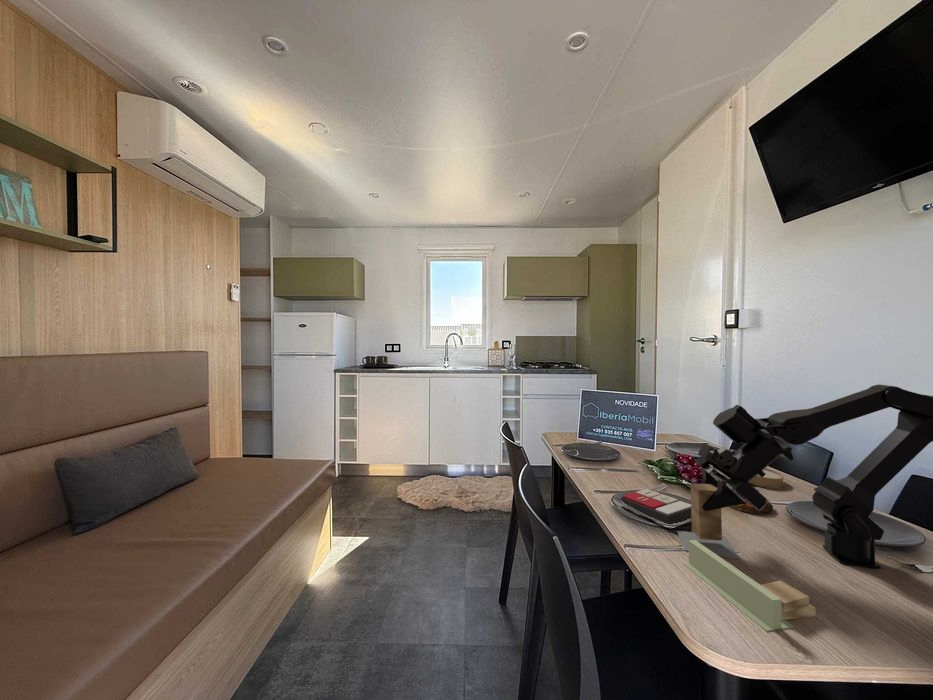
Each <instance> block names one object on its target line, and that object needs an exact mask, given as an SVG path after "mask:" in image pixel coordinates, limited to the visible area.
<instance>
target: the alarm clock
mask: <svg viewBox="0 0 933 700" xmlns="http://www.w3.org/2000/svg"><path fill="white" fill-rule="evenodd" d="M763 472H764V473H765V474H766V475H765V476H763V477H761V476H759V475H757V476H756V477H755V478H754V479H752V480H751V481H750V482H749V483H750V484H751V485H754V486H757V487H763V488H767V489H780V488H782V487H784V486H787V484H786V483H784V475H783V474H781V473H780V472H778V471H775V470H772V469H769V468H767V467H766V468H765V469H764V470H763Z"/></svg>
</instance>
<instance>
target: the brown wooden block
mask: <svg viewBox="0 0 933 700" xmlns="http://www.w3.org/2000/svg"><path fill="white" fill-rule="evenodd" d="M716 490H717V488H716V487H715V486H714V485H712V484H701V483H690V504H691V520H692V522H691V532H693V533H695V534H696V536H697V537H698V538H699V539H704V540H722V536H723V532H722V531H723V530H722V529H723V527H722V508H719V509H715V510H710V511H705V510H704V509H703V508H702V506H703V505H704V504H705V502H706V501H707V500H708V499H709V498H710V497H711V496H712V495H713V493H714V492H715V491H716Z"/></svg>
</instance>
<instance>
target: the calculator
mask: <svg viewBox="0 0 933 700" xmlns="http://www.w3.org/2000/svg"><path fill="white" fill-rule="evenodd" d="M621 500H622V501H623V502H624V503H625V504H627V505H629V506H631V507H633V508H634V509H636V510H638V511H640V512H642V513H644V514H646V515H648V516H650V517H653V518H655V519H657V520H659V521H662V522H664V523H667V524H673V523H678V522H682V521H685V520H687V519H690V518H691V503H688V502H684V501H682V500H679V499H678V498H675V497H672V496H669V495H665V494H662V493H659V492H657V491H654V490H651V489H648V488H645V489H644V488H643V489H641V490H637V491H635V492H631V493H627V494H623V495H622V496H620V501H621Z"/></svg>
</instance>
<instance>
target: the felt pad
mask: <svg viewBox="0 0 933 700" xmlns="http://www.w3.org/2000/svg"><path fill="white" fill-rule="evenodd" d="M676 533H677V536H678V537H679V540H680V542H681V545H682V547H683V549H684V551H685V553H686V552H687V553H689V540H696V541H697V542H699V543H700V544H702V545H703V546H705V547H706V548H708V549H709V550H711V551H712V552H713V553H715V554H716V555H718V556H719V557H721V558H728V559H734V560H740V559H741V558H740V556H739V555H738V553H737V552H736V551H735V549H734V548H733V545H731V543H730V542H729V540H728V538H727V537H726V536H723V535H722V540H704V539H699V538H698V537H697V536H696V534H695V533H694V532H693V531H685V530H678V529H677V530H676Z"/></svg>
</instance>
